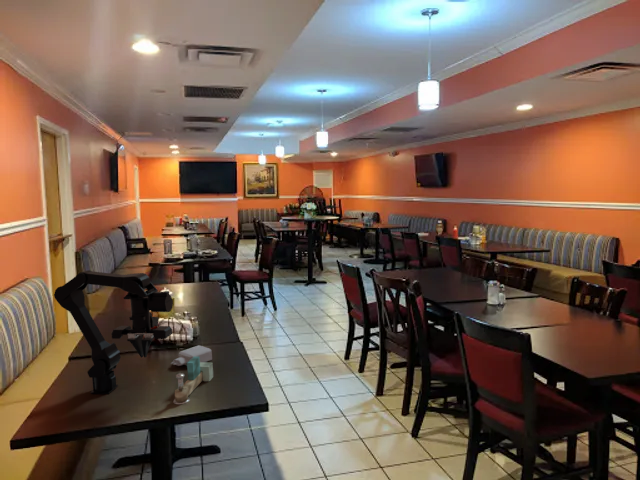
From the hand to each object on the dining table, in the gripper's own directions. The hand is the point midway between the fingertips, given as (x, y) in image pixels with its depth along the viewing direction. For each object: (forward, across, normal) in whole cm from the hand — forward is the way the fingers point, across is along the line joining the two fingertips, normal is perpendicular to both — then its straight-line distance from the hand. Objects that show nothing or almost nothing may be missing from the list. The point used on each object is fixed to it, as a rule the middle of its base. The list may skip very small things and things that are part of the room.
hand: (143, 357), depth 157 cm
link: (+12, -15, -2) cm, 19 cm away
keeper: (+12, -16, -11) cm, 23 cm away
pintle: (+12, -15, +6) cm, 20 cm away
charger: (+12, -5, -25) cm, 28 cm away
